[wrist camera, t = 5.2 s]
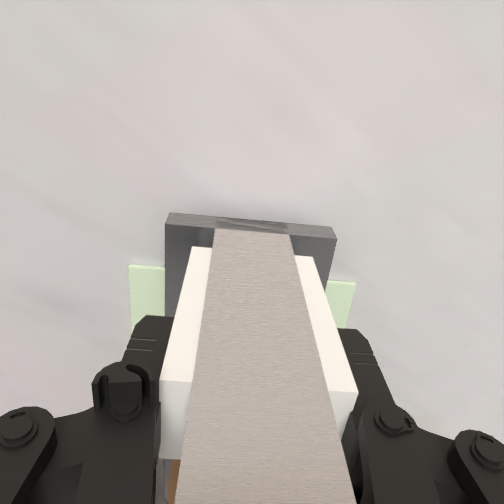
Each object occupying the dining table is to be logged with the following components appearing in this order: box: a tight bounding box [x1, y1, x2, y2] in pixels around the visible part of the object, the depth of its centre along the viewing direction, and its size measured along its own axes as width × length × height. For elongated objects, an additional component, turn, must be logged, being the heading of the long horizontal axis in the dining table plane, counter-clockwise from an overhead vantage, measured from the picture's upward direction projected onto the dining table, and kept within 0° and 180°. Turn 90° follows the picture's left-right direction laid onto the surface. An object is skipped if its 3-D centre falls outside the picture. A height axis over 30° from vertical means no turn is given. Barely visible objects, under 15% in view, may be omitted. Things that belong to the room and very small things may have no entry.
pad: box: [128, 264, 356, 335], centre depth 21 cm, size 11×8×1 cm
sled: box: [164, 213, 357, 504], centre depth 16 cm, size 7×18×12 cm, turn 174°
